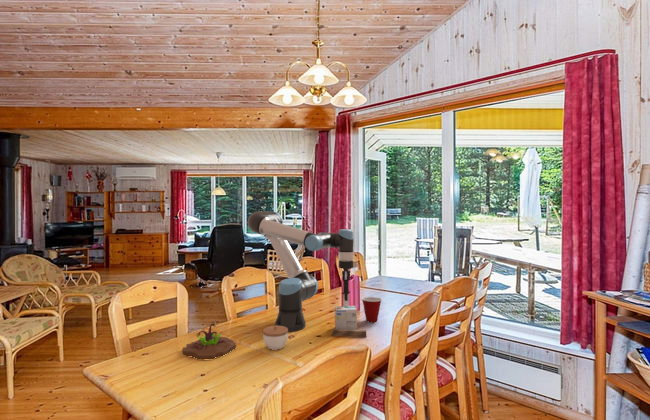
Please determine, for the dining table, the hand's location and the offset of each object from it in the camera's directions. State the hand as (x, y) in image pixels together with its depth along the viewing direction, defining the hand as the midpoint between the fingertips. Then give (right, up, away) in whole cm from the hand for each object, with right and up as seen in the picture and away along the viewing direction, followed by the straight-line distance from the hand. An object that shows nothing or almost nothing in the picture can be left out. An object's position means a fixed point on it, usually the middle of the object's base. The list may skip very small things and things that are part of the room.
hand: (346, 306), depth 183 cm
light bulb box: (0, -10, -4) cm, 11 cm away
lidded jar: (-32, -11, -27) cm, 43 cm away
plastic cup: (+14, -10, +8) cm, 19 cm away
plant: (-59, -11, -29) cm, 67 cm away
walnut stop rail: (+1, -10, -14) cm, 17 cm away
